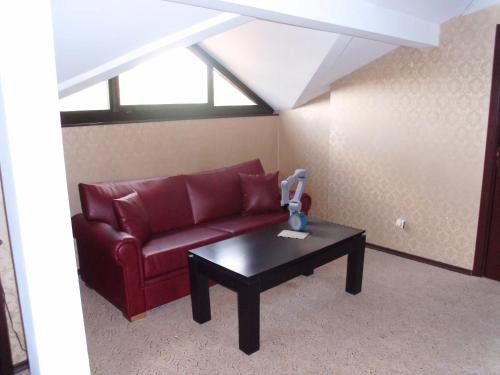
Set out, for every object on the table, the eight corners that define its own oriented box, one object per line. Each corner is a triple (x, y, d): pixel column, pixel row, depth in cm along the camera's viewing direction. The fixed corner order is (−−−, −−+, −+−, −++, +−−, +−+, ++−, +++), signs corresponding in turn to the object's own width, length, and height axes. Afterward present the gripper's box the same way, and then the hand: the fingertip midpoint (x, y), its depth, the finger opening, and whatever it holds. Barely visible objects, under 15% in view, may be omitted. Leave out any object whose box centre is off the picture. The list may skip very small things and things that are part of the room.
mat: (283, 230, 312) (283, 230, 312) (309, 233, 304) (309, 233, 303) (277, 236, 299) (277, 235, 299) (303, 239, 291) (303, 238, 291)
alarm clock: (288, 229, 313) (288, 210, 311) (293, 228, 318) (294, 209, 315) (301, 232, 304) (302, 213, 302) (307, 231, 308) (307, 211, 306)
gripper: (283, 194, 327) (283, 210, 330) (277, 197, 314) (276, 214, 317) (292, 194, 324) (291, 211, 327) (285, 198, 311) (285, 215, 314)
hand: (285, 213), depth 321 cm, fingers closed
